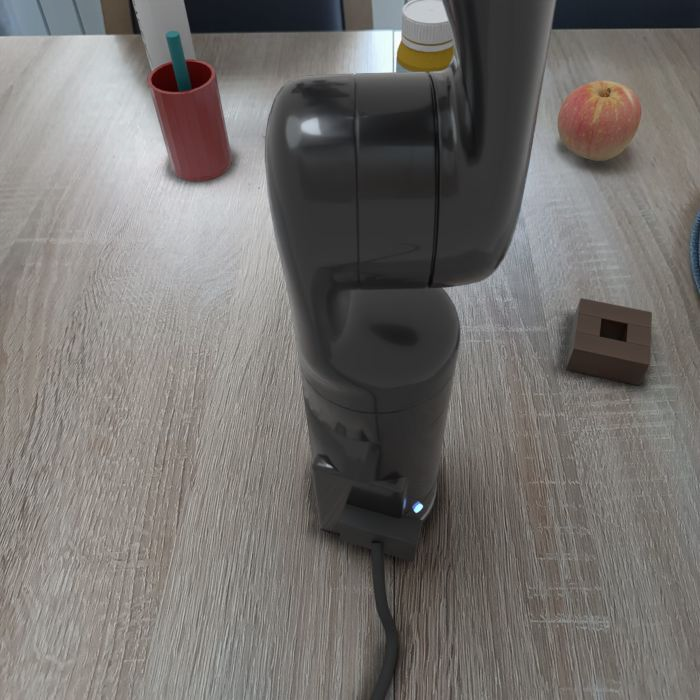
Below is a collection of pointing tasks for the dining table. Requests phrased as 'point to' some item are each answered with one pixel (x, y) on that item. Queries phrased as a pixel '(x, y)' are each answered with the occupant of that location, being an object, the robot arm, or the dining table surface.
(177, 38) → the straw
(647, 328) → the block
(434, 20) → the bottle
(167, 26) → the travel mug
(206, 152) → the cup
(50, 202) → the dining table surface
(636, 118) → the apple
